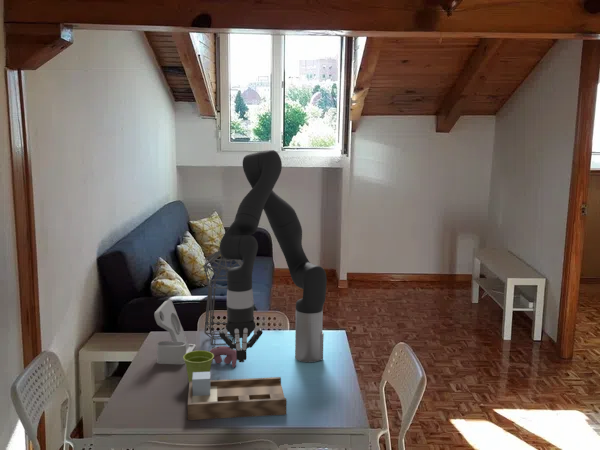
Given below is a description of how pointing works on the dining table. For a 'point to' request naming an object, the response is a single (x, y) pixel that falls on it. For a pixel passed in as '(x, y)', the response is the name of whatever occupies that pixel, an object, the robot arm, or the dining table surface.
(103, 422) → the dining table surface
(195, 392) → the block
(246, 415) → the box
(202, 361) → the plant pot
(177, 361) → the phone holder
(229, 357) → the video game controller
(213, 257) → the geometric lantern
